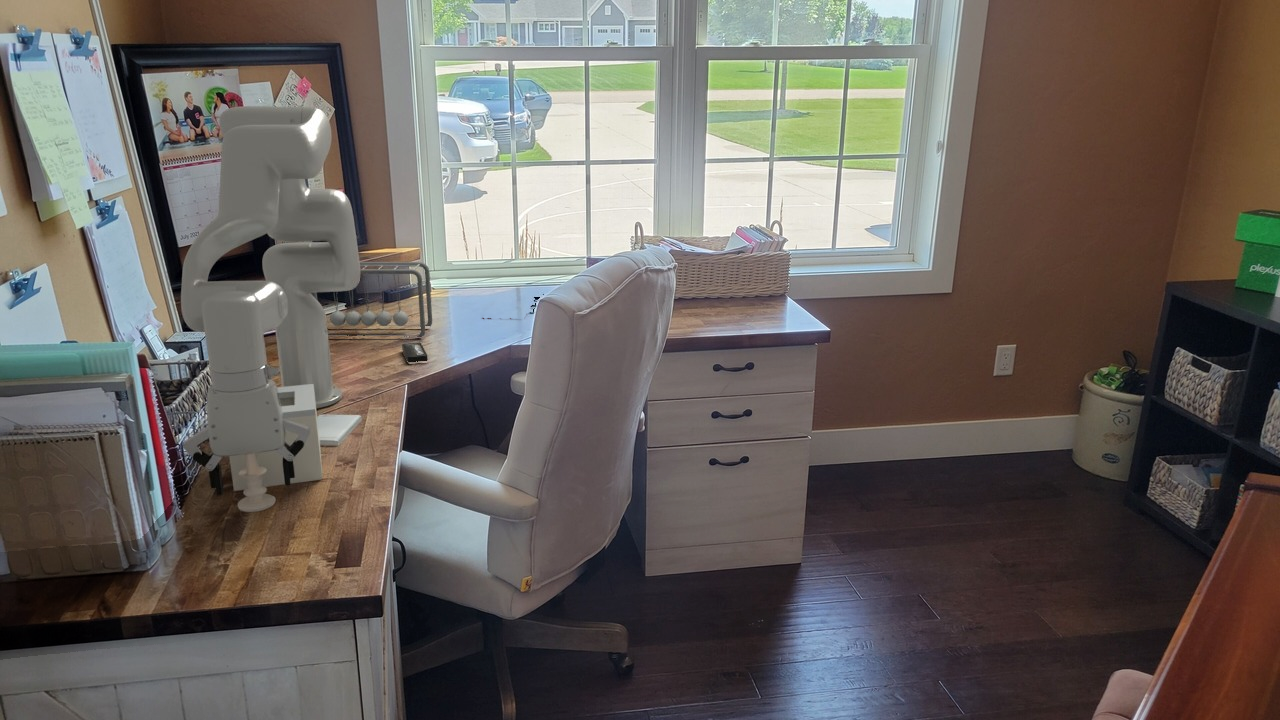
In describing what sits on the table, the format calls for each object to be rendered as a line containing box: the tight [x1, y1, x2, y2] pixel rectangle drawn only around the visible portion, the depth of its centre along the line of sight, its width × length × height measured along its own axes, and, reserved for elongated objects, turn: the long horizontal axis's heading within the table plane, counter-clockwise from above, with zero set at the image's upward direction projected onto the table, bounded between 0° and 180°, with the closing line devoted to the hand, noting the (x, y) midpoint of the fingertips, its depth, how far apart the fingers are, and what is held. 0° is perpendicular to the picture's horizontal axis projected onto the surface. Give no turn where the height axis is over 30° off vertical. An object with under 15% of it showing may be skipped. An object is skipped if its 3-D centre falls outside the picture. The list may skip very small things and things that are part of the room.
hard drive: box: [317, 414, 362, 447], centre depth 161 cm, size 2×8×12 cm
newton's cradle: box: [311, 261, 433, 338], centre depth 222 cm, size 30×10×18 cm, turn 92°
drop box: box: [228, 384, 323, 492], centre depth 143 cm, size 13×13×12 cm
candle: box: [237, 453, 276, 513], centre depth 132 cm, size 5×5×10 cm
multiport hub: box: [401, 342, 429, 362], centre depth 205 cm, size 4×11×2 cm, turn 21°
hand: (254, 486), depth 132 cm, fingers open, 9 cm apart
